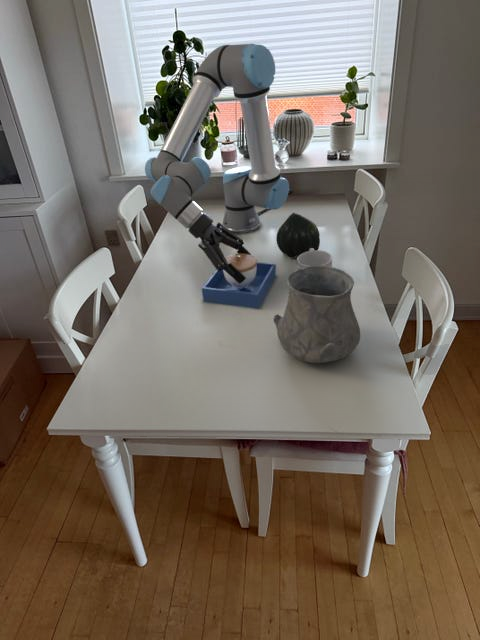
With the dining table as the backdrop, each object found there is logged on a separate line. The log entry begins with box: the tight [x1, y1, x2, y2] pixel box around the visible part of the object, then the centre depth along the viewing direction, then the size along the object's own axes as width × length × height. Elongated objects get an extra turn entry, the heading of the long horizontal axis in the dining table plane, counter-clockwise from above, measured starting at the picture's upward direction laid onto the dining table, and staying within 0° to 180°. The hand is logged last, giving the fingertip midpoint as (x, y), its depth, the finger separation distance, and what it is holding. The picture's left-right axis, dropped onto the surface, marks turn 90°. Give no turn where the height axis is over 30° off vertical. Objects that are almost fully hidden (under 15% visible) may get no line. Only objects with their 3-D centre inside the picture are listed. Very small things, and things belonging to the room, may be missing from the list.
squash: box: [275, 212, 321, 259], centre depth 157 cm, size 14×15×15 cm
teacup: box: [296, 248, 333, 270], centre depth 143 cm, size 14×11×8 cm
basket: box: [201, 261, 277, 310], centre depth 141 cm, size 20×18×5 cm
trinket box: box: [223, 253, 258, 288], centre depth 139 cm, size 11×11×9 cm
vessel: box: [273, 266, 361, 364], centre depth 110 cm, size 22×22×20 cm
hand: (248, 271), depth 138 cm, fingers closed on trinket box, 11 cm apart
